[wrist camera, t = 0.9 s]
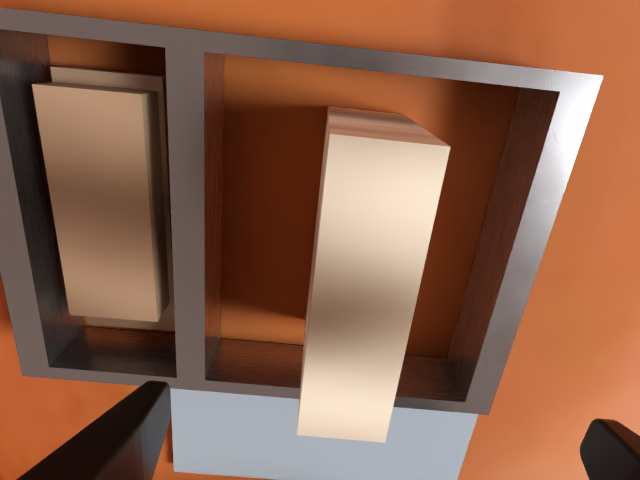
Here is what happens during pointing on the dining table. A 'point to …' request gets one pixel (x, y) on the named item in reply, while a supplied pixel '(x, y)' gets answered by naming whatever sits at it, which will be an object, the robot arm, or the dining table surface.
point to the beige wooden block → (366, 268)
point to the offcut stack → (110, 193)
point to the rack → (206, 219)
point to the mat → (309, 441)
